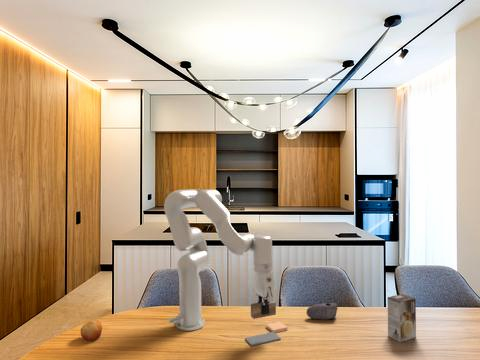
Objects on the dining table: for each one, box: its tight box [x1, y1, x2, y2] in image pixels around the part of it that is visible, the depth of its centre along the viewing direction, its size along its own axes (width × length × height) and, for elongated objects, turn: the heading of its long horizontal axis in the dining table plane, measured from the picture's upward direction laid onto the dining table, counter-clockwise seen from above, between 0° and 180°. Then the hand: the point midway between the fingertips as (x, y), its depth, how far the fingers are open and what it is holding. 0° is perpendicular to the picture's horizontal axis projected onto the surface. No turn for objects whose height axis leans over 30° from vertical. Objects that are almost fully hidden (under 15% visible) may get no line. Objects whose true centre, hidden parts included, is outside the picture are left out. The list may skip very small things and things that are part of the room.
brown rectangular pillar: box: [250, 299, 277, 320], centre depth 132 cm, size 2×10×5 cm, turn 114°
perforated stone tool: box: [306, 302, 338, 320], centre depth 152 cm, size 15×5×7 cm, turn 90°
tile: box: [265, 321, 288, 334], centre depth 141 cm, size 7×2×6 cm
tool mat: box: [244, 331, 281, 347], centre depth 132 cm, size 13×6×1 cm, turn 114°
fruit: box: [80, 319, 103, 342], centre depth 133 cm, size 8×8×8 cm
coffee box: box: [387, 293, 417, 343], centre depth 134 cm, size 9×6×16 cm
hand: (263, 312), depth 132 cm, fingers closed on brown rectangular pillar, 2 cm apart
